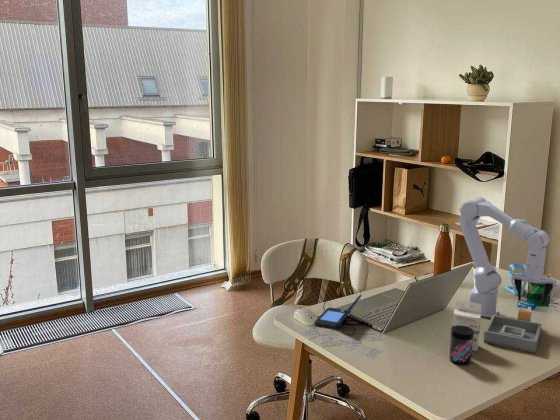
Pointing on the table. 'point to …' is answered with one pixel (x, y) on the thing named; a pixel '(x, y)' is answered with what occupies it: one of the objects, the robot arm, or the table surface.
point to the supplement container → (461, 344)
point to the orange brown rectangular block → (524, 314)
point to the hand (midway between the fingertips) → (531, 301)
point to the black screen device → (334, 317)
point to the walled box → (523, 344)
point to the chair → (512, 280)
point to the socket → (513, 331)
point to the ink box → (468, 319)
